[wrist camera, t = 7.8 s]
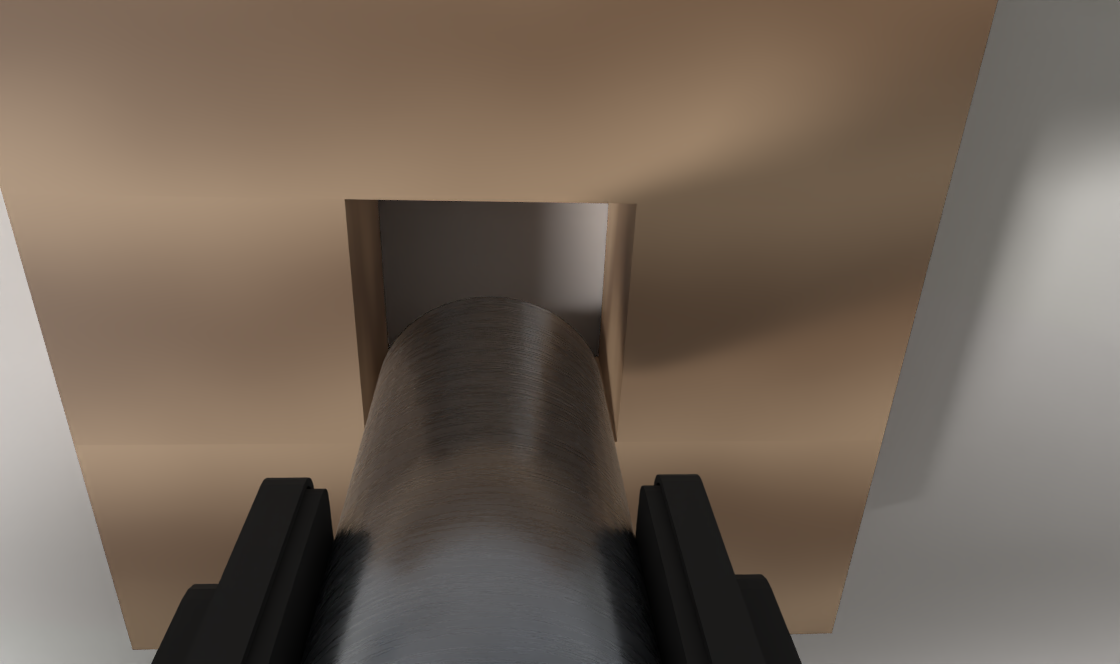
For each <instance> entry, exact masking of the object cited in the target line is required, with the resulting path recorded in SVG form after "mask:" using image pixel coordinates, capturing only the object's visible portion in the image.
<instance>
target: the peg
mask: <svg viewBox="0 0 1120 664" xmlns="http://www.w3.org/2000/svg"><path fill="white" fill-rule="evenodd" d="M301 664H662V663H661V658H660V653H659V649H658V644H657V639H656V635H655V630H654V625H653V620H652V616H651V611H650V606H649V602H648V597H647V592H646V587H645V583H644V578H643V573H642V568H641V564H640V559H639V554H638V550H637V545H636V540H635V535H634V531H633V526H632V521H631V517H630V512H629V507H628V502H627V498H626V493H625V488H624V484H623V479H622V474H621V469H620V465H619V460H618V455H617V451H616V446H615V441H614V436H613V432H612V427H611V422H610V418H609V413H608V408H607V403H606V399H605V394H604V389H603V384H602V380H601V375H600V371H599V368H598V365H597V362H596V360H595V358H594V356H593V354H592V352H591V350H590V348H589V347H588V345H587V344H586V342H585V341H584V339H583V338H582V337H581V336H580V335H579V334H578V333H577V332H576V331H575V330H574V328H572V327H571V326H570V325H569V324H568V323H566V322H565V321H564V320H563V319H561V318H560V317H558V316H556V315H555V314H553V313H552V312H550V311H548V310H546V309H543V308H541V307H539V306H537V305H534V304H531V303H528V302H525V301H521V300H516V299H511V298H503V297H475V298H469V299H463V300H459V301H455V302H452V303H449V304H445V305H443V306H441V307H438V308H436V309H434V310H432V311H430V312H428V313H427V314H425V315H423V316H422V317H420V318H418V319H417V320H416V321H415V322H413V323H412V324H411V325H410V326H408V327H407V328H406V329H405V330H404V331H403V332H402V333H401V335H400V336H399V337H398V338H397V339H396V341H395V342H394V343H393V345H392V346H391V348H390V349H389V351H388V353H387V355H386V357H385V359H384V361H383V364H382V368H381V371H380V374H379V378H378V381H377V385H376V389H375V392H374V396H373V400H372V403H371V407H370V411H369V414H368V418H367V422H366V425H365V429H364V433H363V436H362V440H361V444H360V447H359V451H358V455H357V458H356V462H355V466H354V469H353V473H352V477H351V480H350V484H349V488H348V491H347V495H346V499H345V502H344V506H343V510H342V513H341V517H340V521H339V524H338V528H337V532H336V535H335V539H334V543H333V546H332V550H331V554H330V557H329V561H328V565H327V568H326V572H325V576H324V580H323V583H322V587H321V591H320V594H319V598H318V602H317V605H316V609H315V613H314V616H313V620H312V624H311V627H310V631H309V635H308V638H307V642H306V646H305V649H304V653H303V657H302V660H301Z"/></svg>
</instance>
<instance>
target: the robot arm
mask: <svg viewBox="0 0 1120 664" xmlns="http://www.w3.org/2000/svg"><path fill="white" fill-rule="evenodd" d="M635 540H636V545H637V550H638V554H639V559H640V564H641V568H642V573H643V578H644V583H645V587H646V592H647V597H648V602H649V606H650V611H651V616H652V620H653V625H654V630H655V635H656V639H657V644H658V649H659V653H660V658H661V663H662V664H802V663H801V661H800V658H799V656H798V653H797V651H796V648H795V646H794V643H793V641H792V638H791V636H790V633H789V631H788V628H787V626H786V623H785V621H784V618H783V616H782V613H781V611H780V608H779V606H778V603H777V601H776V598H775V596H774V593H773V591H772V588H771V586H770V584H769V582H768V580H767V579H766V578H765V577H764V576H763V575H762V574H736V575H735V573H734V570H733V567H732V565H731V562H730V559H729V556H728V553H727V550H726V548H725V545H724V542H723V539H722V536H721V533H720V530H719V528H718V525H717V522H716V519H715V516H714V513H713V511H712V508H711V505H710V502H709V499H708V496H707V493H706V491H705V488H704V485H703V482H702V480H701V478H700V476H699V475H698V474H658V475H656V478H655V481H654V485H642V486H641V489H640V494H639V504H638V514H637V523H636V533H635ZM333 543H334V536H333V528H332V519H331V511H330V502H329V495H328V491H327V489H314V485H313V482H312V479H311V478H309V477H294V478H266V479H264V480H263V482H262V484H261V485H260V488H259V490H258V492H257V495H256V497H255V499H254V502H253V504H252V506H251V509H250V511H249V513H248V516H247V518H246V520H245V523H244V525H243V527H242V530H241V532H240V534H239V537H238V539H237V541H236V544H235V546H234V548H233V551H232V553H231V555H230V558H229V560H228V562H227V565H226V567H225V569H224V572H223V574H222V576H221V579H220V581H219V583H218V584H194V585H192V586H191V587H190V588H189V589H188V590H187V591H186V593H185V595H184V596H183V598H182V600H181V602H180V604H179V606H178V608H177V610H176V612H175V615H174V617H173V619H172V621H171V623H170V625H169V627H168V629H167V632H166V634H165V636H164V638H163V640H162V642H161V644H160V646H159V648H158V651H157V653H156V655H155V657H154V659H153V661H152V663H151V664H301V660H302V657H303V653H304V649H305V646H306V642H307V638H308V635H309V631H310V627H311V624H312V620H313V616H314V613H315V609H316V605H317V602H318V598H319V594H320V591H321V587H322V583H323V580H324V576H325V572H326V568H327V565H328V561H329V557H330V554H331V550H332V546H333Z"/></svg>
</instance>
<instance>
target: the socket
mask: <svg viewBox="0 0 1120 664" xmlns="http://www.w3.org/2000/svg"><path fill="white" fill-rule="evenodd" d="M997 2H998V0H0V188H1V191H2V195H3V198H4V202H5V205H6V209H7V212H8V216H9V219H10V223H11V226H12V230H13V233H14V237H15V240H16V244H17V247H18V251H19V254H20V258H21V261H22V265H23V268H24V272H25V275H26V279H27V282H28V286H29V289H30V293H31V296H32V300H33V303H34V307H35V310H36V314H37V317H38V321H39V324H40V328H41V331H42V335H43V338H44V342H45V345H46V349H47V352H48V356H49V359H50V362H51V366H52V369H53V373H54V376H55V380H56V383H57V387H58V390H59V394H60V397H61V401H62V404H63V408H64V411H65V415H66V418H67V422H68V425H69V429H70V432H71V436H72V439H73V443H74V446H75V450H76V453H77V457H78V460H79V464H80V467H81V471H82V474H83V478H84V481H85V485H86V488H87V492H88V495H89V499H90V502H91V506H92V509H93V513H94V516H95V520H96V523H97V527H98V530H99V534H100V537H101V541H102V544H103V548H104V551H105V555H106V558H107V562H108V565H109V568H110V572H111V575H112V579H113V582H114V586H115V589H116V593H117V596H118V600H119V603H120V607H121V610H122V614H123V617H124V621H125V624H126V628H127V631H128V635H129V638H130V642H131V645H132V649H133V650H142V649H158V648H159V646H160V644H161V642H162V640H163V638H164V636H165V634H166V632H167V629H168V627H169V625H170V623H171V621H172V619H173V617H174V615H175V612H176V610H177V608H178V606H179V604H180V602H181V600H182V598H183V596H184V595H185V593H186V591H187V590H188V589H189V588H190V587H191V586H192V585H194V584H218V583H219V581H220V579H221V576H222V574H223V572H224V569H225V567H226V565H227V562H228V560H229V558H230V555H231V553H232V551H233V548H234V546H235V544H236V541H237V539H238V537H239V534H240V532H241V530H242V527H243V525H244V523H245V520H246V518H247V516H248V513H249V511H250V509H251V506H252V504H253V502H254V499H255V497H256V495H257V492H258V490H259V488H260V485H261V484H262V482H263V480H264V479H266V478H294V477H309V478H311V479H312V482H313V485H314V489H327V491H328V495H329V502H330V511H331V519H332V528H333V536H334V539H335V535H336V532H337V528H338V524H339V521H340V517H341V513H342V510H343V506H344V502H345V499H346V495H347V491H348V488H349V484H350V480H351V477H352V473H353V469H354V466H355V462H356V458H357V455H358V451H359V447H360V444H361V440H362V436H363V433H364V429H365V425H366V422H367V418H368V414H369V411H370V407H371V403H372V400H373V396H374V392H375V389H376V385H377V381H378V378H379V374H380V371H381V368H382V364H383V361H384V359H385V357H386V355H387V353H388V340H387V325H386V310H385V296H384V281H383V266H382V252H381V237H380V222H379V208H378V200H429V201H493V202H557V203H609V205H608V220H607V235H606V250H605V265H604V280H603V295H602V311H601V326H600V341H599V356H598V357H594V358H595V360H596V362H597V365H598V368H599V371H600V375H601V380H602V384H603V389H604V394H605V399H606V403H607V408H608V413H609V418H610V422H611V427H612V432H613V436H614V441H615V446H616V451H617V455H618V460H619V465H620V469H621V474H622V479H623V484H624V488H625V493H626V498H627V502H628V507H629V512H630V517H631V521H632V526H633V531H634V535H635V533H636V523H637V514H638V504H639V494H640V489H641V486H642V485H654V481H655V478H656V475H658V474H698V475H699V476H700V478H701V480H702V482H703V485H704V488H705V491H706V493H707V496H708V499H709V502H710V505H711V508H712V511H713V513H714V516H715V519H716V522H717V525H718V528H719V530H720V533H721V536H722V539H723V542H724V545H725V548H726V550H727V553H728V556H729V559H730V562H731V565H732V567H733V570H734V573H735V575H736V574H762V575H763V576H764V577H765V578H766V579H767V580H768V582H769V584H770V586H771V588H772V591H773V593H774V596H775V598H776V601H777V603H778V606H779V608H780V611H781V613H782V616H783V618H784V621H785V623H786V626H787V628H788V631H789V633H790V634H817V633H832V630H833V626H834V623H835V619H836V615H837V611H838V607H839V604H840V600H841V596H842V592H843V588H844V584H845V581H846V577H847V573H848V569H849V565H850V562H851V558H852V554H853V550H854V546H855V543H856V539H857V535H858V531H859V527H860V524H861V520H862V516H863V512H864V508H865V504H866V501H867V497H868V493H869V489H870V485H871V482H872V478H873V474H874V470H875V466H876V463H877V459H878V455H879V451H880V447H881V444H882V440H883V436H884V432H885V428H886V425H887V421H888V417H889V413H890V409H891V405H892V402H893V398H894V394H895V390H896V386H897V383H898V379H899V375H900V371H901V367H902V364H903V360H904V356H905V352H906V348H907V345H908V341H909V337H910V333H911V329H912V326H913V322H914V318H915V314H916V310H917V306H918V303H919V299H920V295H921V291H922V287H923V284H924V280H925V276H926V272H927V268H928V265H929V261H930V257H931V253H932V249H933V246H934V242H935V238H936V234H937V230H938V226H939V223H940V219H941V215H942V211H943V207H944V204H945V200H946V196H947V192H948V188H949V185H950V181H951V177H952V173H953V169H954V166H955V162H956V158H957V154H958V150H959V147H960V143H961V139H962V135H963V131H964V127H965V124H966V120H967V116H968V112H969V108H970V105H971V101H972V97H973V93H974V89H975V86H976V82H977V78H978V74H979V70H980V67H981V63H982V59H983V55H984V51H985V48H986V44H987V40H988V36H989V32H990V28H991V25H992V21H993V17H994V13H995V9H996V6H997Z"/></svg>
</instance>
